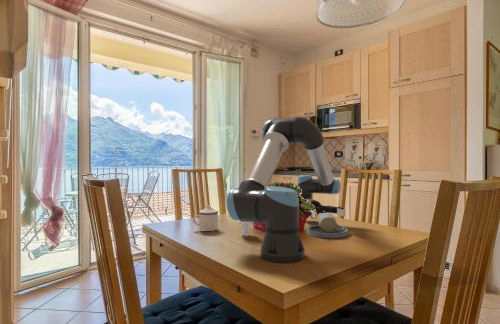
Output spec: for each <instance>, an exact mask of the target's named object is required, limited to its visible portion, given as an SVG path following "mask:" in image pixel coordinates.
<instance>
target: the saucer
mask: <svg viewBox="0 0 500 324" xmlns="http://www.w3.org/2000/svg"><path fill="white" fill-rule="evenodd" d="M340 226H341V225H340ZM341 227H343V228H344V230H343V232H339V231H336V230H334V231H333V232H331V233H326V232H324V231H323V230H322V229H321V228H320V225H319V224H314V225H309V226H308V227H306V234H307V235H308V236H310V237H314V238H318V239H319V238H320V239H333V240H335V239H343V238H347V237H348V236H349V234H350V233H349V229H348V228H347V227H344V226H341Z"/></svg>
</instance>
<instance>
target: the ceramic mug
mask: <svg viewBox="0 0 500 324" xmlns="http://www.w3.org/2000/svg"><path fill="white" fill-rule="evenodd" d="M317 222H318V225H320V228H321V229H322V230H323V231H324V232H326V233H331V232H333V231H334V230H336V231H339V232H343V230H344V228H343V227H344V226H342V227H341V225H340V224H337V220H336V217H335V216H334V215H333V213H320V215H319V217H318V221H317Z"/></svg>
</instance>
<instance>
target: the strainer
mask: <svg viewBox="0 0 500 324" xmlns="http://www.w3.org/2000/svg"><path fill="white" fill-rule="evenodd" d="M236 221H237V224H238V225H241V235H244V236H243V237H249V236H250V225H251V224H254V222H247V221H243V222H241V221H238V220H236ZM248 235H249V236H248Z"/></svg>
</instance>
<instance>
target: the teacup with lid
mask: <svg viewBox="0 0 500 324" xmlns="http://www.w3.org/2000/svg"><path fill="white" fill-rule="evenodd" d="M197 217H199V223H197V222H196V218H197ZM192 221H193V223H194V225H196V226H199V230H204V231H213V230H217V229H218V230H219V211H218V210H217V209H215V208H213V207H212V206H211V205H206V207H205V208H203V209H201V210H199V213H198V214H196V215H194V216H193V218H192ZM218 230H217V231H218Z"/></svg>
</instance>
